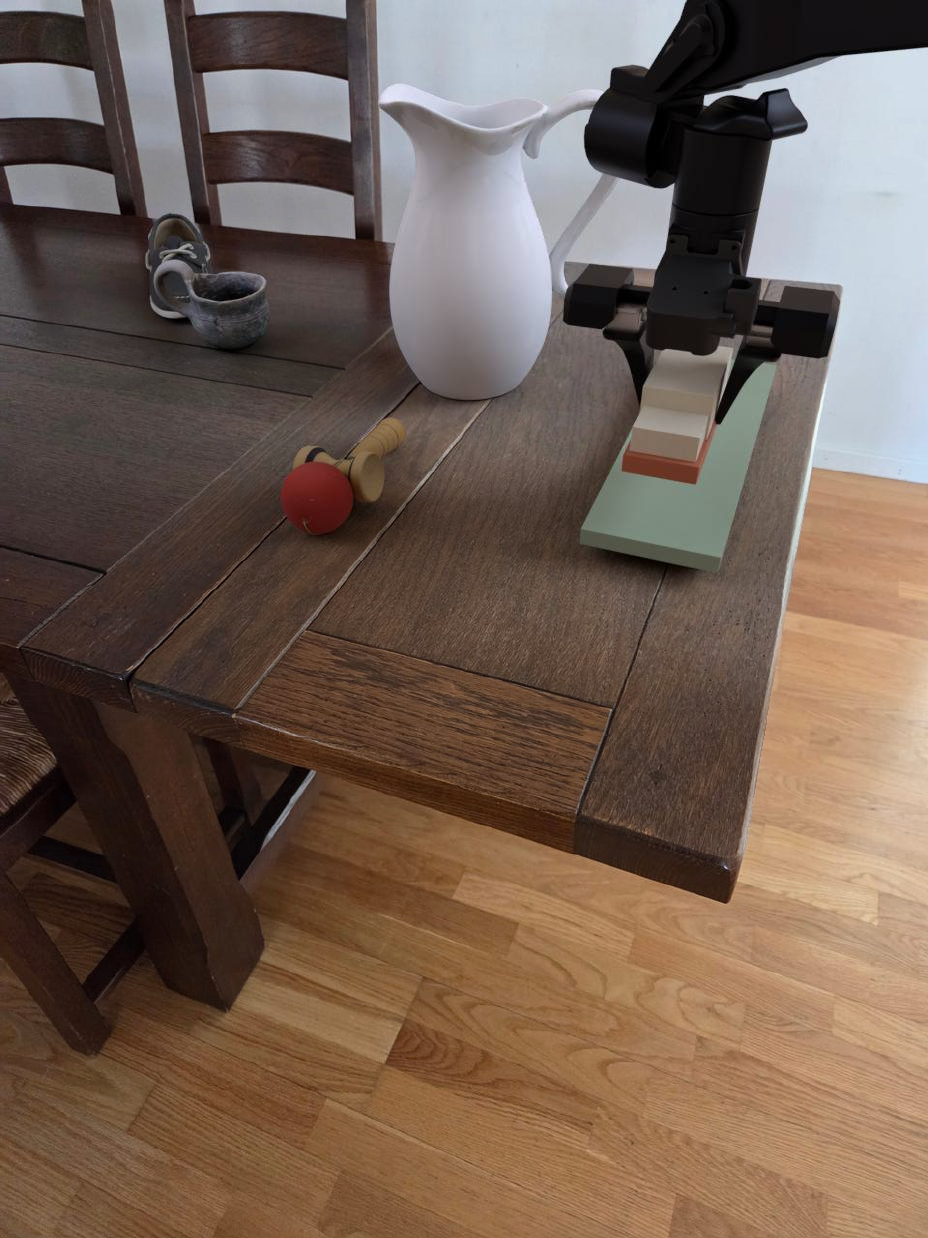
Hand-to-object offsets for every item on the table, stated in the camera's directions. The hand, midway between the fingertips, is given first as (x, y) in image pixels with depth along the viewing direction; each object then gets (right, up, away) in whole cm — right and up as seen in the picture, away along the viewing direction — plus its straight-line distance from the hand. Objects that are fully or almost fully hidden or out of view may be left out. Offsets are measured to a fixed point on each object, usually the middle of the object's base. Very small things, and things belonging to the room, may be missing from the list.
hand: (680, 416), depth 67 cm
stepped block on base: (0, -1, 0) cm, 1 cm away
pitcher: (-13, +11, +28) cm, 33 cm away
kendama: (-27, -4, +11) cm, 30 cm away
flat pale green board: (+4, -1, +13) cm, 14 cm away
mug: (-46, +17, +36) cm, 61 cm away
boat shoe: (-55, +29, +50) cm, 80 cm away
